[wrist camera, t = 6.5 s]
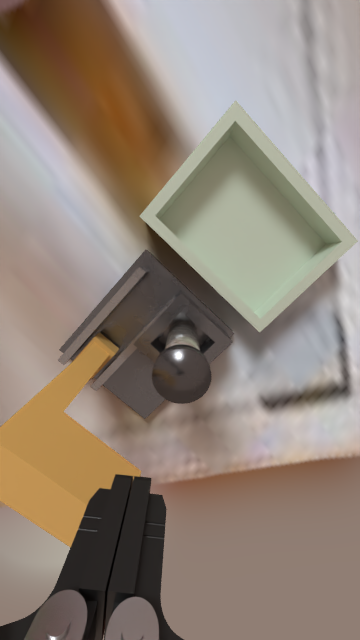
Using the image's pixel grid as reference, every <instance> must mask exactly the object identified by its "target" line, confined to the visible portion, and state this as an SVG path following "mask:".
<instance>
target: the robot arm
mask: <svg viewBox="0 0 360 640" xmlns="http://www.w3.org/2000/svg"><path fill="white" fill-rule="evenodd" d="M150 486H151V478H147V477H138V476H134V479H133V476H129V475H120V474H116V475H115V477H114V480H113V483H112V486H111V489H104V488H99V489H98V490H97V492H96V493H95V494H94V495H93V496H92V497H91V499H90V500H89V502H88V505H87V507H86V510H85V512H84V515H83V518H82V520H81V523H80V525H79V528H78V531H77V533H76V535H75V538H74V540H73V543H72V545H71V548H70V550H69V553H68V555H67V558H66V561H65V563H64V566H63V568H62V571H61V573H60V576H59V578H58V581H57V583H56V586H55V588H54V590H53V591H52V593H51V594H50V596H49V597H48V599H47V600H46V601H45V602H44V603H43V604H42V606H40V607H39V608H38V609H37V610H36V611H35V612H33V613H32V614H31V615H29V616H27V617H25V618H23V619H21V620H18V621H15V622H12V623H9V624H6V625H3V626H0V640H102V639H103V635H104V640H183V639H182V638H180V637H179V636H178V635H176V634H175V633H174V632H173V631H172V630H171V629H170V627H169V626H168V624H167V622H166V620H165V618H164V615H163V612H162V608H161V601H160V592H161V577H162V563H163V549H164V534H165V520H166V506H165V503H164V500H163V497H162V495H156V494H150ZM104 630H105V633H104Z"/></svg>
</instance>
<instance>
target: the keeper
mask: <svg viewBox="0 0 360 640" xmlns="http://www.w3.org/2000/svg"><path fill="white" fill-rule="evenodd" d="M118 350H119V348H118V347H117V346H115V345H114V344H113V343H112V342H111V341H110V340H108V339H107V338H106V337H105V336H104V335H102V334H101V333H98V334H97V335H96V336H95V337H94V338H93V339H92V340H91V341H90V342H89V344H88V345H87V346H86V347H85V348H84V349H83V350H82V351H81V353H80V354H79V355H78V356H77V357H76V358H75V359H74V360H73V361H72V363H71V364H70V365H69V366H68V367H67V368H66V369H64V370H63V371H62V372H61V373H60V374H59V375H58V376H57V377H56V378H54V379H53V380H52V381H51V382H50V383H49V384H48V385H47V386H46V387H44V388H43V389H42V390H41V391H40V392H39V393H38V394H37V395H36V396H34V397H33V398H32V399H31V400H30V401H29V402H28V403H27V404H25V405H24V406H23V407H22V408H21V409H20V410H19V411H18V412H17V413H15V414H14V415H13V416H12V417H11V418H10V419H9V420H8V421H7V422H5V423H4V424H3V425H2V426H1V427H0V501H1V502H3V503H4V504H6V505H7V506H9V507H10V508H12V509H13V510H15V511H17V512H18V513H19V514H21V515H23V516H24V517H26V518H27V519H29V520H30V521H31V522H33V523H35V524H36V525H37V526H39V527H40V528H42V529H43V530H45V531H46V532H48V533H49V534H51V535H53V536H54V537H56V538H57V539H59V540H60V541H62V542H63V543H65V544H66V545H68V546H69V547H71V545H72V543H73V540H74V538H75V535H76V533H77V531H78V528H79V525H80V523H81V520H82V518H83V515H84V512H85V510H86V507H87V505H88V502H89V500H90V499H91V497H92V496H93V495H94V494H95V493H96V492H97V490H98V489H99V488H104V489H111V486H112V483H113V480H114V477H115V475H116V474H120V475H129V476H133V479H134V476H138V477H140V474H141V471H140V470H139V469H138V468H136V467H135V466H134V465H132V464H131V463H130V462H128V461H127V460H126V459H125V458H123V457H122V456H121V455H119V454H118V453H117V452H115V451H114V450H113V449H111V448H110V447H109V446H107V445H106V444H105V443H104V442H102V441H101V440H100V439H98V438H97V437H96V436H94V435H93V434H92V433H90V432H89V431H88V430H87V429H85V428H84V427H83V426H81V425H80V424H79V423H77V422H76V421H75V420H73V419H72V418H71V417H70V416H68V415H67V414H66V413H64V410H65V409H66V408H67V407H68V405H69V404H70V403H71V402H72V400H73V399H74V398H75V397H76V395H77V394H78V393H79V392H80V391H81V389H82V388H83V387H84V386H85V384H86V383H87V382H88V381H89V379H90V378H93V377H94V376H95V375H96V374H97V373H98V372H99V371H100V370H101V369H102V368H103V367H104V366H105V365H106V363H107V362H108V361H109V360H110V359H111V358H112V357H113V356H114V355H115V354H116V352H117V351H118Z"/></svg>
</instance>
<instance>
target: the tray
mask: <svg viewBox="0 0 360 640" xmlns="http://www.w3.org/2000/svg"><path fill="white" fill-rule="evenodd" d="M140 217H141V218H142V219H143V220H144V221H145V222H146V223H147V224H148V225H149V226H150V227H151V228H152V229H153V230H154V231H155V232H156V233H157V234H158V235H159V236H160V237H161V238H162V239H164V240H165V241H166V242H167V243H168V244H169V245H170V246H171V247H172V248H173V249H174V250H175V251H176V252H177V253H178V254H179V255H180V256H181V257H182V258H183V259H184V260H185V261H186V262H187V263H188V264H189V265H190V266H191V267H192V268H193V269H195V270H196V271H197V272H198V273H199V274H200V275H201V276H202V277H203V278H204V279H205V280H206V281H207V282H208V283H209V284H210V285H211V286H212V287H213V288H214V289H215V290H216V291H217V292H218V293H219V294H220V295H221V296H222V297H223V298H224V299H225V300H227V301H228V302H229V303H230V304H231V305H232V306H233V307H234V308H235V309H236V310H237V311H238V312H239V313H240V314H241V315H242V316H243V317H244V318H245V319H246V320H247V321H248V322H249V323H250V324H251V325H252V326H253V327H254V328H255V329H256V330H258V331H259V332H261V331H262V330H263V329H264V328H265V327H266V326H267V325H268V324H270V323H271V322H272V321H273V320H274V319H275V318H276V317H277V316H278V315H279V314H280V313H281V312H282V311H283V310H285V309H286V308H287V307H288V306H289V305H290V304H291V303H292V302H293V301H294V300H295V299H296V298H297V297H298V296H300V295H301V294H302V293H303V292H304V291H305V290H306V289H307V288H308V287H309V286H310V285H311V284H312V283H313V282H315V281H316V280H317V279H318V278H319V277H320V276H321V275H322V274H323V273H324V272H325V271H326V270H327V269H328V268H330V267H331V266H332V265H333V264H334V263H335V262H336V261H337V260H338V259H339V258H340V257H341V256H342V255H343V254H345V253H346V252H347V251H348V250H349V249H350V248H351V247H352V246H353V245H354V244H355V243H356V242H357V239H356V238H355V237H354V236H353V235H352V234H351V233H350V231H349V230H348V229H347V228H346V227H345V226H344V224H343V223H342V222H341V221H340V220H339V219H338V218H337V216H336V215H335V214H334V213H333V212H332V211H331V209H330V208H329V207H328V206H327V205H326V204H325V203H324V201H323V200H322V199H321V198H320V197H319V196H318V195H317V193H316V192H315V191H314V190H313V189H312V188H311V186H310V185H309V184H308V183H307V182H306V181H305V180H304V178H303V177H302V176H301V175H300V174H299V173H298V171H297V170H296V169H295V168H294V167H293V166H292V165H291V163H290V162H289V161H288V160H287V159H286V158H285V157H284V155H283V154H282V153H281V152H280V151H279V150H278V148H277V147H276V146H275V145H274V144H273V143H272V142H271V140H270V139H269V138H268V137H267V136H266V135H265V133H264V132H263V131H262V130H261V129H260V128H259V127H258V125H257V124H256V123H255V122H254V121H253V120H252V119H251V117H250V116H249V115H248V114H247V113H246V112H245V110H244V109H243V108H242V107H241V106H240V105H239V104H238V102H237V101H235V102H234V103H233V104H232V105H231V107H230V108H229V109H228V110H227V111H226V113H225V114H224V115H223V116H222V117H221V119H220V120H219V121H218V122H217V124H216V125H215V126H214V127H213V128H212V130H211V131H210V132H209V133H208V134H207V136H206V137H205V138H204V139H203V140H202V142H201V143H200V144H199V145H198V146H197V148H196V149H195V150H194V151H193V152H192V154H191V155H190V156H189V157H188V159H187V160H186V161H185V162H184V163H183V165H182V166H181V167H180V168H179V169H178V171H177V172H176V173H175V174H174V175H173V177H172V178H171V179H170V180H169V181H168V183H167V184H166V185H165V186H164V187H163V189H162V190H161V191H160V192H159V193H158V195H157V196H156V197H155V198H154V200H153V201H152V202H151V203H150V204H149V206H148V207H147V208H146V209H145V210H144V212H143V213H142V214H141V215H140Z"/></svg>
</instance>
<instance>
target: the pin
mask: <svg viewBox="0 0 360 640" xmlns="http://www.w3.org/2000/svg"><path fill="white" fill-rule="evenodd" d="M152 382H153V385H154V387H155V389H156V391H157V392H158V393H159V394H160V395H161V396H162V397H163V398H164V399H166V400H168V401H171V402H174V403H181V404H183V403H190V402H193V401H195V400H197V399H199V398H200V397H202V396H203V395H204V394H205V393H206V391H207V390H208V388H209V386H210V382H211V371H210V367H209V363H208V360H207V358H206V357H205V355H204V354H203V353H202V352H201V351H200V347H199V341H198V335H197V330H196V328H195V327H194V325H193V324H191V323H190V322H187V321H178V322H176V323H174V324H173V325H172V326H171V327H170V329H169V333H168V337H167V341H166V346H165V350H163V351H162V352H161V353H160V354H159V355H158V357H157V359H156V361H155V364H154V367H153V371H152Z"/></svg>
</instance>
